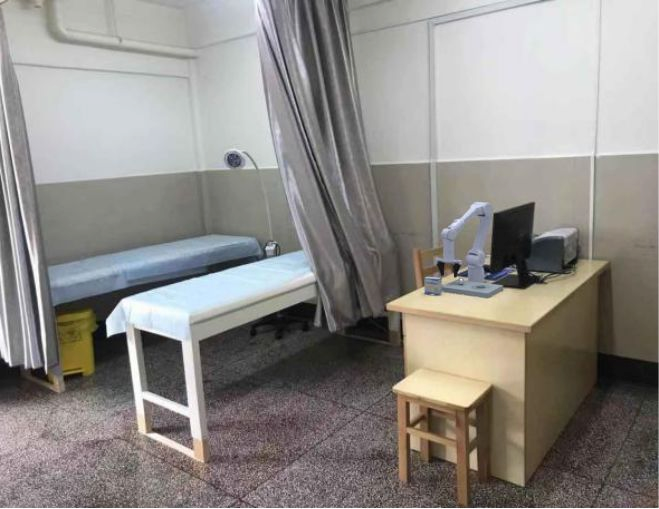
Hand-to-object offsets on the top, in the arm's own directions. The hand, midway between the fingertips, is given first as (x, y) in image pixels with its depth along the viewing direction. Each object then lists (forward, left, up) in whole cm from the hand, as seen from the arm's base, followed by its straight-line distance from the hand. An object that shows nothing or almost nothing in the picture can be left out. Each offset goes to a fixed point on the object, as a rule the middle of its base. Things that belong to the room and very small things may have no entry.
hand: (448, 276), depth 291 cm
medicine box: (+15, -1, -6) cm, 16 cm away
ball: (0, +7, -2) cm, 7 cm away
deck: (0, +13, -6) cm, 14 cm away
